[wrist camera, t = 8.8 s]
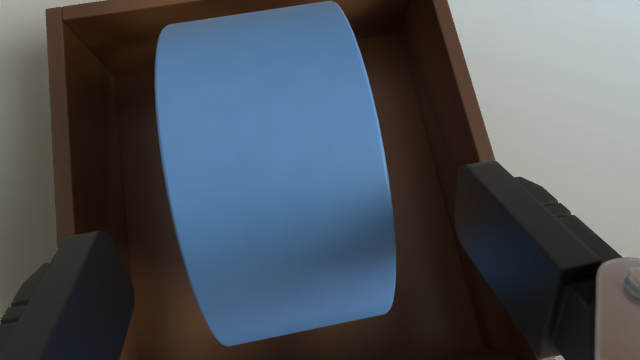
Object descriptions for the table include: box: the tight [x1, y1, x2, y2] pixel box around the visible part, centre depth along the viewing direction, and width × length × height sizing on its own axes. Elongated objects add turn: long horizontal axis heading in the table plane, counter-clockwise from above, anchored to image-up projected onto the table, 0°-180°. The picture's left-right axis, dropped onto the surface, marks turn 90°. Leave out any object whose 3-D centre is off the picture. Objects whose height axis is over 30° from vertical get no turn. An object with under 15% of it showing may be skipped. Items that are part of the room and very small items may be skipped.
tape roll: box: [155, 1, 396, 347], centre depth 14 cm, size 5×10×10 cm, turn 11°
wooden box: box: [46, 0, 555, 360], centre depth 17 cm, size 15×16×5 cm
